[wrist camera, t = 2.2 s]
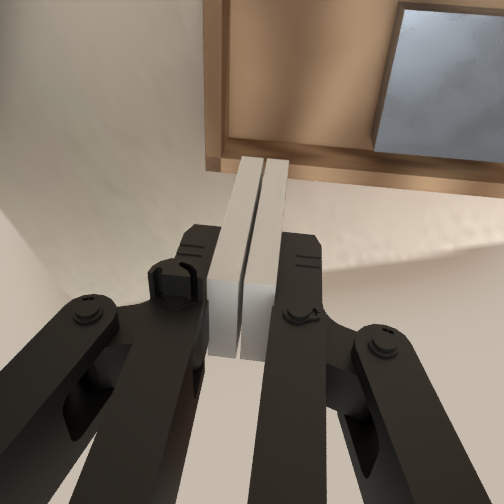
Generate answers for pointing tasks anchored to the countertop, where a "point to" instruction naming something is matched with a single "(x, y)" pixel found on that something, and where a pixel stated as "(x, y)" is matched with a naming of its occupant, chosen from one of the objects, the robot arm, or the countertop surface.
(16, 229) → the countertop surface
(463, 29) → the grey square tile
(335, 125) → the box
